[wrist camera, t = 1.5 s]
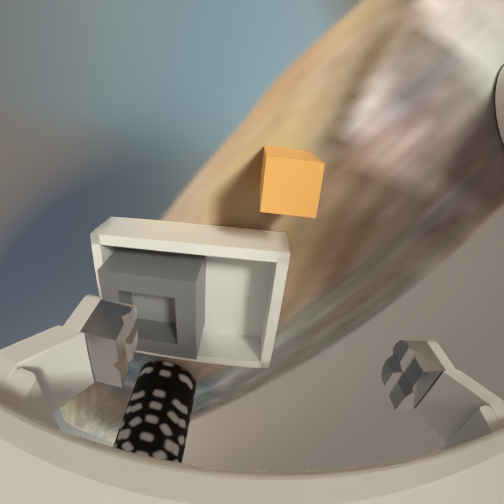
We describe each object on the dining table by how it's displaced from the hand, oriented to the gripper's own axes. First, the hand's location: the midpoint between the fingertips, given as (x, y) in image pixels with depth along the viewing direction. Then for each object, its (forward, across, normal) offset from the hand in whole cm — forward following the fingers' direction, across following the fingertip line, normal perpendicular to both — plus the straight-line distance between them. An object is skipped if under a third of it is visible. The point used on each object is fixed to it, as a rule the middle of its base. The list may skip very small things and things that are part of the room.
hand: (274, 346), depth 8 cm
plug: (+21, -2, -2) cm, 21 cm away
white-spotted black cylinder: (+22, +7, +29) cm, 37 cm away
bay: (+21, +4, +12) cm, 25 cm away
